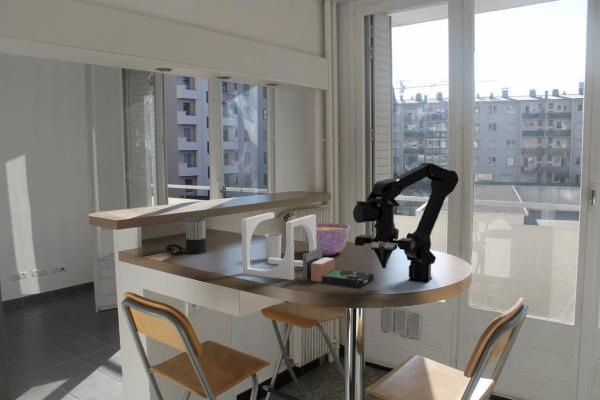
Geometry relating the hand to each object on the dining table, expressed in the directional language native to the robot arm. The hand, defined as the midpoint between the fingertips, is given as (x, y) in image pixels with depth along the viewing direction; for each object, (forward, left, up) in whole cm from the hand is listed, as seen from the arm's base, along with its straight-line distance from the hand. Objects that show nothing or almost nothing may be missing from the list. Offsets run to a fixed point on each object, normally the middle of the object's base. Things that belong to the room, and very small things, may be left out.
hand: (384, 268), depth 165 cm
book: (+22, 0, -6) cm, 23 cm away
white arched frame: (+41, -3, -6) cm, 42 cm away
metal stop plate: (+27, 0, -6) cm, 28 cm away
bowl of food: (+38, -37, -6) cm, 54 cm away
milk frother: (+94, -13, -6) cm, 95 cm away
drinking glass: (+53, -18, -6) cm, 57 cm away
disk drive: (+13, 0, -6) cm, 14 cm away
